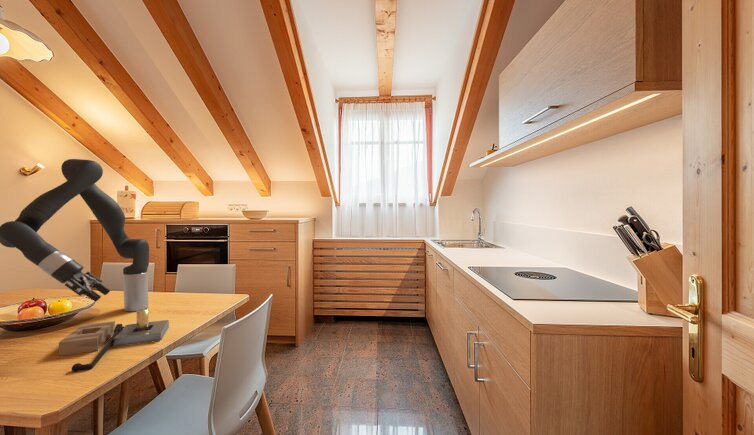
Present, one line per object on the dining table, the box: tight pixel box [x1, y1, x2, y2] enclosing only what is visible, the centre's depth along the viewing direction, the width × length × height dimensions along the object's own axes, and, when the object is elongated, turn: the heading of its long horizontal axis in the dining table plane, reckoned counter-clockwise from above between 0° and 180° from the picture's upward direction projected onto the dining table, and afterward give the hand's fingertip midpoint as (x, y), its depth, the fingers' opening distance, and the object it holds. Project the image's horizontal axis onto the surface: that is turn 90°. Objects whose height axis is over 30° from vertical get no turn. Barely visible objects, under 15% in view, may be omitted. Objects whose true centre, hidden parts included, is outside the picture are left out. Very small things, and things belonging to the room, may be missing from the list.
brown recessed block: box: [58, 320, 116, 357], centre depth 115 cm, size 17×10×4 cm, turn 23°
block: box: [113, 319, 170, 348], centre depth 122 cm, size 14×14×3 cm
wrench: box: [71, 323, 125, 373], centre depth 110 cm, size 5×5×30 cm
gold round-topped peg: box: [135, 308, 150, 332], centre depth 121 cm, size 4×4×10 cm
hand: (103, 296), depth 117 cm, fingers open, 8 cm apart
